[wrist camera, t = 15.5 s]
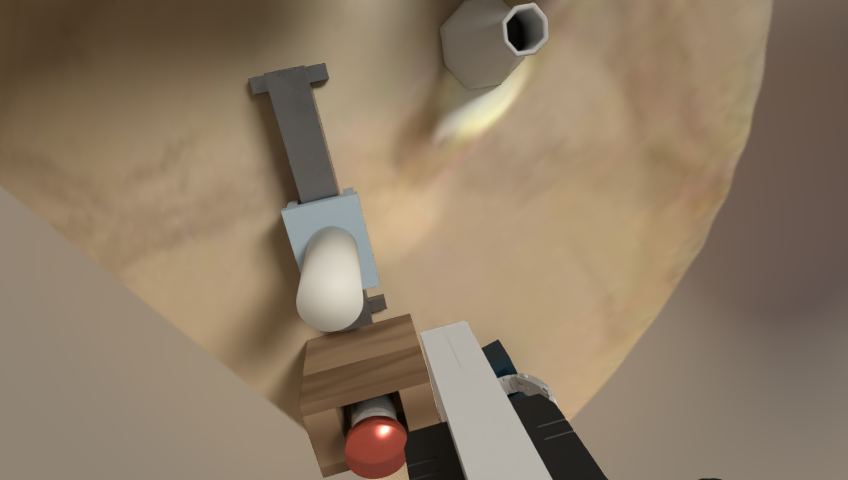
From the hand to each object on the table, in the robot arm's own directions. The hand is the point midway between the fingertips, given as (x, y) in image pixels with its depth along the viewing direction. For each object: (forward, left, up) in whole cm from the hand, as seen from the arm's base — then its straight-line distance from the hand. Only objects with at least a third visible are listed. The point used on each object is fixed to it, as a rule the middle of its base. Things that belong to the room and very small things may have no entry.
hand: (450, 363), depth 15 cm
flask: (-10, +11, -29) cm, 32 cm away
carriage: (+3, -5, -27) cm, 28 cm away
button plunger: (+16, -5, -22) cm, 27 cm away
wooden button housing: (+16, -5, -28) cm, 33 cm away
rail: (0, -5, -28) cm, 29 cm away
